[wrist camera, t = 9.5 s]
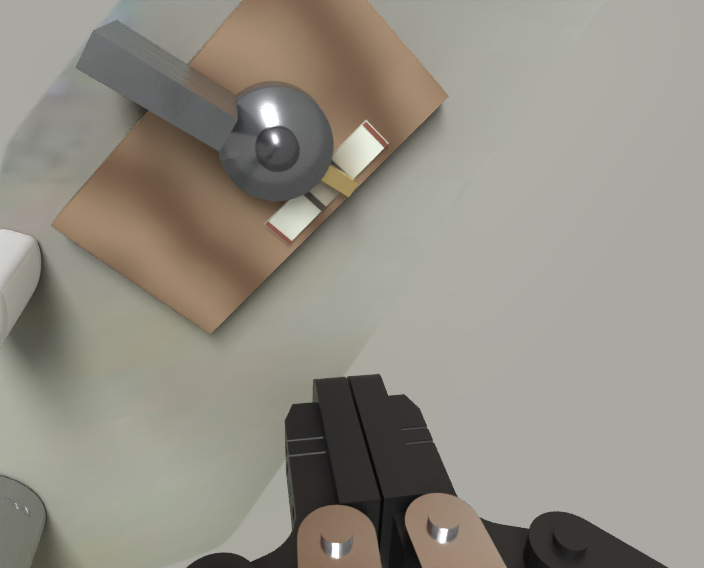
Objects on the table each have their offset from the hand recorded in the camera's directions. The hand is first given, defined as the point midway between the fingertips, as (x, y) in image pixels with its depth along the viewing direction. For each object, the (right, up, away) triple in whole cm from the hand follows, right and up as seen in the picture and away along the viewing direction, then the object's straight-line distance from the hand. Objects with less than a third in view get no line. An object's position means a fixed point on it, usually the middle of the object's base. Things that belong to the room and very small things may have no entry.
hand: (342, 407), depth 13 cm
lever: (-6, +12, +20) cm, 25 cm away
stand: (-6, +11, +24) cm, 27 cm away
